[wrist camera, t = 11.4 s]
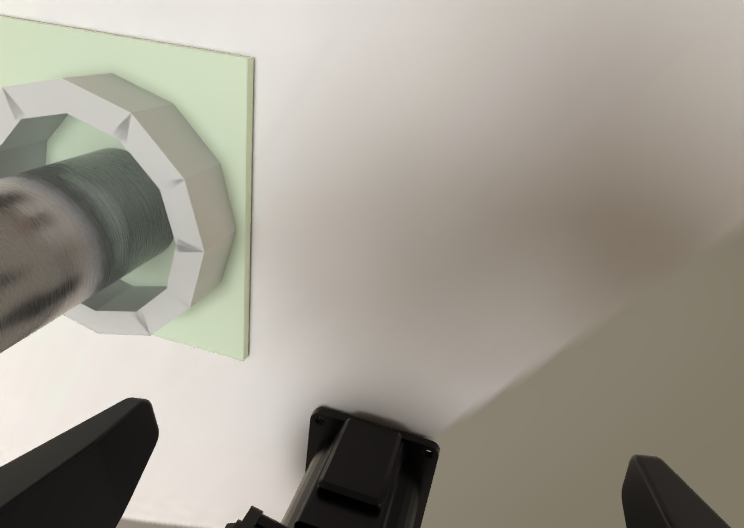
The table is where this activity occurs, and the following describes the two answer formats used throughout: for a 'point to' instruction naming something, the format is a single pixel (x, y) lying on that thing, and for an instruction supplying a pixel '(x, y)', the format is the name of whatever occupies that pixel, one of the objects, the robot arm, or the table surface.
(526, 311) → the table surface
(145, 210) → the metal bottle
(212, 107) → the ring plate
